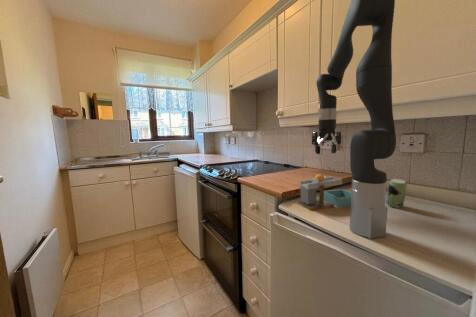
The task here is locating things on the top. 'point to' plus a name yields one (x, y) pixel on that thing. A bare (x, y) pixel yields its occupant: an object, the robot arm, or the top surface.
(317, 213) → the top surface
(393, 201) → the beverage can
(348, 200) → the teal square tray
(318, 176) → the ball
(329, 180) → the chute
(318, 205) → the stand
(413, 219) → the top surface
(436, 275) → the top surface
